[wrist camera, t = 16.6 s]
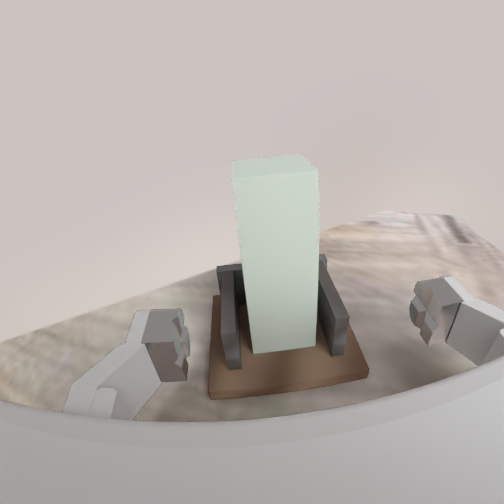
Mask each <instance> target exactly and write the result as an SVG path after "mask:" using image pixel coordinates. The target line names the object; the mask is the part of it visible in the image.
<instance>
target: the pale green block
mask: <svg viewBox="0 0 504 504" xmlns="http://www.w3.org/2000/svg"><path fill="white" fill-rule="evenodd" d="M231 171H232V187H233V194H234V203H235V212H236V220H237V228H238V237H239V245H240V252H241V261H242V269H243V277H244V285H245V293H246V301H247V309H248V316H249V324H250V332H251V340H252V347H253V354H258V353H266V352H275V351H283V350H290V349H297V348H304V347H311V346H315V341H316V323H317V301H318V270H319V173H318V170H317V169H316V168H315V167H314V166H313V165H312V164H310V163H309V162H308V161H307V160H306V159H305V158H304V157H303V156H302V155H286V156H274V157H263V158H253V159H242V160H233V161H232V162H231Z"/></svg>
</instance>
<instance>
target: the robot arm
mask: <svg viewBox="0 0 504 504" xmlns="http://www.w3.org/2000/svg"><path fill="white" fill-rule="evenodd" d="M414 293H415V295H416V296H415V297H414V298H413V299H412V301H411V304H410V308H409V310H410V317H411V320H412V322H413V324H414V326H416V327H418V328H420V329H421V330H420V335H421V336H422V338H423V340H424V341H425V343H426V344H427V346H430V345H434V344H438V343H442V342H446V343H447V344H448V345H450V346H451V347H453V348H454V349H455V350H457V351H458V352H460V353H461V354H462V355H464V356H465V357H467V358H468V359H469V360H471V361H472V362H474V363H475V364H476V365H478V366H477V367H475V368H472V369H470V370H467V371H465V372H462V373H459V374H457V375H454V376H451V377H448V378H445V379H442V380H440V381H437V382H434V383H430V384H427V385H424V386H421V387H418V388H414V389H411V390H408V391H404V392H401V393H397V394H393V395H389V396H386V397H382V398H378V399H373V400H369V401H365V402H360V403H356V404H351V405H346V406H341V407H336V408H331V409H325V410H319V411H313V412H307V413H300V414H293V415H285V416H277V417H268V418H258V419H246V420H232V421H212V422H152V421H135V419H134V418H135V416H136V415H137V414H138V413H139V411H140V410H141V409H142V408H143V406H144V405H145V404H146V403H147V401H148V400H149V399H150V398H151V396H152V395H153V394H154V393H155V391H156V390H157V389H158V388H159V386H160V385H161V384H162V383H161V382H176V381H187V372H188V363H187V360H186V358H187V357H188V356H189V354H190V340H189V334H188V330H187V328H186V327H185V326H184V325H183V324H184V315H183V312H182V310H181V309H180V308H179V309H154V310H138V311H136V312H135V315H134V317H133V320H132V323H131V326H130V329H129V332H128V335H127V338H126V341H125V344H120V345H119V346H117V347H116V348H115V349H114V350H113V351H111V352H110V353H109V354H108V355H107V356H105V357H104V358H103V359H102V360H101V361H99V362H98V363H97V364H96V365H94V366H93V367H92V368H91V369H90V370H88V371H87V372H86V373H85V374H84V375H82V376H81V377H80V378H79V379H78V380H76V381H75V382H74V383H73V384H72V386H71V389H70V391H69V394H68V397H67V399H66V402H65V405H64V408H63V411H62V413H61V412H55V411H49V410H44V409H38V408H33V407H29V406H24V405H20V404H15V403H11V402H7V401H3V400H0V504H504V311H503V310H501V309H499V308H497V307H494V306H492V305H490V304H488V303H486V302H484V301H481V300H479V299H474V298H473V297H472V296H471V295H470V294H469V293H468V292H467V291H466V290H465V288H464V287H463V286H462V285H461V284H460V283H459V282H458V281H457V280H456V279H455V278H454V277H453V276H451V275H448V276H443V277H439V278H435V279H429V280H424V281H418V282H417V284H416V285H415V288H414Z"/></svg>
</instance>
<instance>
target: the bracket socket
mask: <svg viewBox="0 0 504 504" xmlns="http://www.w3.org/2000/svg"><path fill="white" fill-rule="evenodd" d="M217 277H218V283H219V289H220V294H221V295H216V296H213V310H212V328H211V348H210V372H209V394H210V397H211V399H226V398H239V397H250V396H259V395H268V394H277V393H284V392H292V391H298V390H305V389H311V388H317V387H323V386H328V385H334V384H339V383H344V382H349V381H354V380H358V379H363V378H367V376H368V373H369V368H368V365H367V363H366V361H365V358H364V356H363V354H362V351H361V349H360V347H359V345H358V342H357V340H356V338H355V336H354V333H353V331H352V329H351V327H350V324H349V315H348V313H347V311H346V309H345V307H344V304H343V302H342V300H341V298H340V296H339V294H338V292H337V290H336V288H335V286H334V284H333V282H332V280H331V278H330V276H329V274H328V272H327V259H326V257H325V255H324V254H321V255H319V270H318V301H317V323H316V341H315V346H311V347H304V348H297V349H290V350H283V351H275V352H266V353H258V354H253V347H252V340H251V332H250V324H249V316H248V309H247V301H246V293H245V285H244V277H243V269H242V264H233V265H224V266H217Z"/></svg>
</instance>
